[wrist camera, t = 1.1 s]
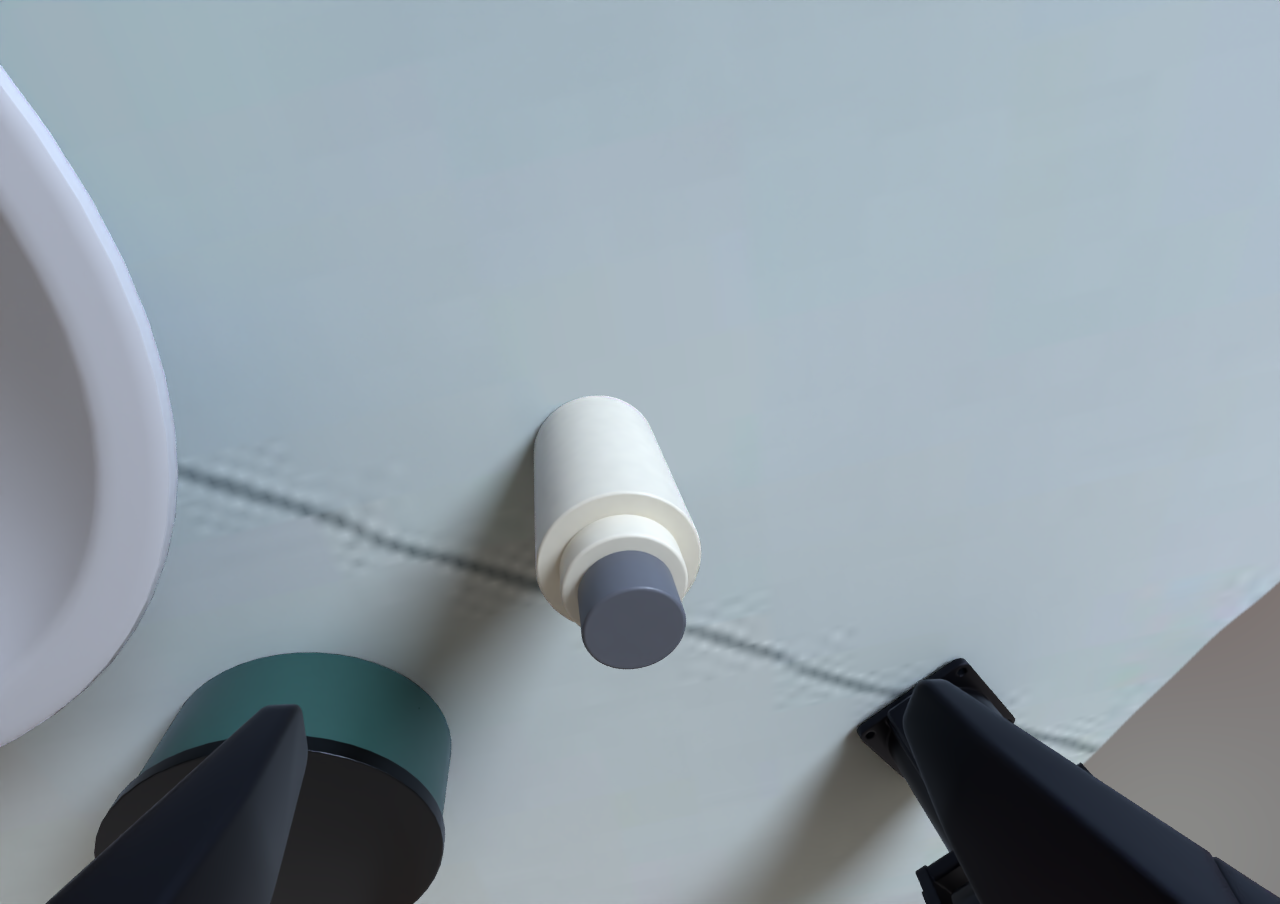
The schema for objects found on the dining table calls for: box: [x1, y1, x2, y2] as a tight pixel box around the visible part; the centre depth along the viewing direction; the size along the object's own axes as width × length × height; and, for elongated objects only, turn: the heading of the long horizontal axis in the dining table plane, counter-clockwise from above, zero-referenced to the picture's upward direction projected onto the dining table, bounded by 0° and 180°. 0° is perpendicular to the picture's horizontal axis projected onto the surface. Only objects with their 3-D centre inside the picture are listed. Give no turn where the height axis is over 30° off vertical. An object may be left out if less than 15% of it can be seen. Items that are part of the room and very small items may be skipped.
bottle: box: [534, 395, 701, 669], centre depth 18 cm, size 4×4×10 cm
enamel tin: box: [94, 653, 451, 904], centre depth 24 cm, size 11×11×5 cm
